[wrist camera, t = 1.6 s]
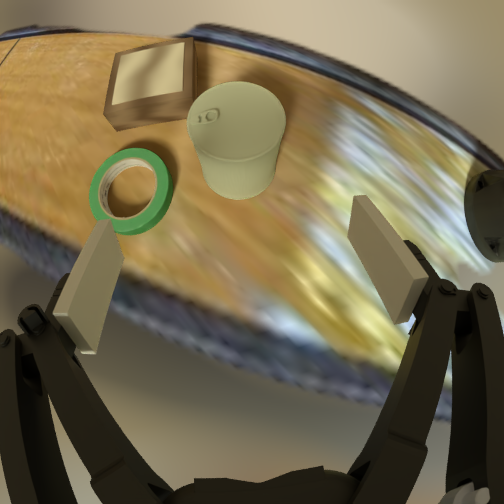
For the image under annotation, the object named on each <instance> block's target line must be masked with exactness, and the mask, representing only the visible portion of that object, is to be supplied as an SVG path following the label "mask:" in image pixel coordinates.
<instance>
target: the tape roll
mask: <svg viewBox="0 0 504 504" xmlns="http://www.w3.org/2000/svg"><path fill="white" fill-rule="evenodd" d="M133 166H143V167H146V168H149V169H150V170H152V171H153V173H154V176H155V190H154V194H153V196H152V199H151V201H150V202H149V203H148V205H147V206H146V207H145V208H144V209H143V210H142V211H141V212H139V213H138V214H136V215H134V216H131V217H127V218H125V217H123V218H120V217H115V216H114V215H113V214H112V213H111V211H110V209H109V206H108V201H107V195H108V190H109V187H110V185H111V183H112V181H113V180H114V178H115V177H116V176H117V175H118V174H119V173H120V172H121V171H123V170H125V169H127V168H129V167H133ZM172 195H173V182H172V177H171V174H170V172H169V170H168V168H167V167H166V165H165V164H164V162H163V161H162V160H161V158H160V157H159V156H158V155H156V154H155V153H153V152H152V151H149V150H147V149H143V148H129V149H125V150H122V151H119V152H117V153H115V154H114V155H112V156H111V157H109V158H108V159H107V160H106V161H105V162H104V163H103V164H102V165H101V166H100V168H99V169H98V170H97V172H96V174H95V175H94V177H93V180H92V183H91V186H90V191H89V202H90V207H91V211H92V213H93V215H94V217H95V218H96V220H97V221H98V220H104V219H111V222H112V225H113V228H114V231H115V232H116V233H118V234H122V235H137V234H141V233H143V232H146V231H148V230H149V229H151V228H152V227H154V226H155V225H156V224H157V223H158V222H159V221H160V220H161V219H162V218H163V217H164V215H165V214H166V212H167V210H168V208H169V206H170V203H171V200H172Z"/></svg>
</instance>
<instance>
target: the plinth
mask: <svg viewBox="0 0 504 504" xmlns="http://www.w3.org/2000/svg"><path fill="white" fill-rule="evenodd" d="M196 99H197V54H196V49H195V44H194V39H193V37H190V38H184V39H177V40H172V41H166V42H161V43H156V44H151V45H147V46H142V47H138V48H134V49H130V50H126V51H122V52H119V53H115V58H114V62H113V66H112V70H111V75H110V80H109V85H108V90H107V95H106V101H105V107H104V113H103V115H104V116H105V117H106V119H107V120H108V121H109V122H110V124H111V125H112V126H113V127H114V129H115V130H116V131H121V130H126V129H131V128H136V127H141V126H146V125H151V124H157V123H163V122H169V121H175V120H182V119H187V117H188V113H189V110H190V108H191V106H192V104H193V103H194V101H195V100H196Z"/></svg>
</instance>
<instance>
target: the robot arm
mask: <svg viewBox="0 0 504 504" xmlns="http://www.w3.org/2000/svg"><path fill="white" fill-rule="evenodd" d="M465 215H466V221H467V225H468V228H469V232H470V234H471V237H472V239H473V241H474V243H475V245H476V247H477V248H478V250H479V251H480V252H481V253H482V255H483V256H485V257H486V258H487V259H488V260H490V261H492V262H504V170H487V171H483V172H481V173H479V174H478V175H476V176H474V177H473V178H472V179H471V180H470V182H469V184H468V186H467V189H466V193H465ZM347 237H348V239H349V241H350V243H351V244H352V246H353V248H354V250H355V251H356V253H357V255H358V257H359V258H360V260H361V262H362V264H363V266H364V267H365V269H366V271H367V273H368V275H369V277H370V278H371V280H372V282H373V284H374V286H375V288H376V290H377V292H378V294H379V295H380V297H381V299H382V301H383V303H384V305H385V307H386V309H387V311H388V313H389V315H390V317H391V319H392V321H393V323H394V325H395V324H400V323H404V322H408V321H409V319H410V317H411V315H412V313H413V314H414V316H415V318H416V320H415V322H414V324H413V326H412V328H411V330H410V332H409V333H408V334H409V335H410V337H409V340H408V343H407V346H406V349H405V352H404V355H403V358H402V361H401V364H400V366H399V369H398V372H397V375H396V377H395V380H394V382H393V385H392V387H391V390H390V392H389V395H388V397H387V399H386V402H385V404H384V406H383V409H382V411H381V413H380V415H379V418H378V420H377V422H376V425H375V426H374V428H373V430H372V433H371V435H370V437H369V438H368V440H367V443H366V444H365V447H364V448H363V450H362V452H361V453H360V455H359V456H358V457H357V459H356V460H355V462H354V463H353V465H352V466H351V468H350V470H349V471H348V473H347V474H345V473H342V472H338V471H333V470H324V468H323V466H318V467H313V468H308V469H302V470H296V471H292V472H289V473H286V474H284V475H281V476H279V477H276V478H273V479H270V480H268V481H265V482H261V483H254V482H247V481H241V480H234V479H228V478H206V479H205V478H194V483H192V484H188V485H186V486H183V487H181V488H179V489H177V490H175V491H174V490H173V489H172V488H171V487H170V486H169V485H168V484H167V483H166V482H165V481H164V480H163V479H162V478H160V477H159V476H158V475H157V474H156V473H155V472H154V471H153V470H152V469H151V468H150V466H149V465H148V464H147V463H146V462H145V460H144V459H143V458H142V456H141V455H140V454H139V453H138V452H137V450H136V449H135V447H134V446H133V445H132V443H131V442H130V441H129V439H128V438H127V437H126V436H125V434H124V433H123V431H122V430H121V428H120V427H119V425H118V424H117V423H116V421H115V420H114V418H113V417H112V415H111V414H110V412H109V411H108V409H107V407H106V406H105V404H104V403H103V401H102V400H101V398H100V397H99V395H98V393H97V391H96V390H95V388H94V387H93V385H92V383H91V382H90V380H89V378H88V376H87V374H86V373H85V371H84V369H83V367H82V365H81V363H80V362H79V360H78V358H77V356H76V355H75V354H74V351H75V348H76V347H77V348H78V349H79V351H80V352H81V353H82V354H96V351H97V347H98V343H99V339H100V336H101V331H102V328H103V325H104V321H105V317H106V314H107V310H108V307H109V304H110V300H111V297H112V294H113V291H114V288H115V285H116V281H117V278H118V275H119V272H120V269H121V267H122V264H123V261H124V256H123V254H122V251H121V248H120V245H119V243H118V240H117V237H116V234H115V231H114V228H113V225H112V222H111V219H104V220H98V222H97V224H96V225H95V227H94V229H93V231H92V232H91V234H90V236H89V238H88V240H87V242H86V243H85V245H84V247H83V249H82V251H81V253H80V255H79V257H78V259H77V261H76V263H75V265H74V267H73V269H72V271H71V273H66V274H65V275H64V276H63V277H62V278H61V279H60V281H59V282H58V285H57V287H56V290H55V291H54V293H53V297H51V300H50V302H49V304H48V306H47V309H46V311H45V313H44V312H43V310H42V309H41V307H40V306H39V305H37V304H32V305H29V306H27V307H26V308H25V309H23V310H22V312H21V313H20V314H19V317H18V325H19V326H20V327H21V329H22V330H23V331H24V334H21V335H18V336H17V335H16V334H15V332H14V331H13V330H11V329H7V330H4V331H3V332H1V333H0V454H1V461H2V466H3V471H4V476H5V480H6V484H7V488H8V492H9V496H10V500H11V503H12V504H78V503H77V500H76V498H75V495H74V492H73V490H72V487H71V484H70V481H69V478H68V475H67V472H66V469H65V466H64V462H63V459H62V455H61V452H60V448H59V445H58V441H57V437H56V432H55V428H54V424H53V419H52V414H51V409H50V404H49V398H48V395H49V397H50V399H51V402H52V404H53V406H54V408H55V411H56V413H57V415H58V417H59V419H60V421H61V423H62V425H63V427H64V429H65V431H66V433H67V435H68V437H69V439H70V441H71V442H72V444H73V446H74V448H75V450H76V451H77V453H78V455H79V457H80V458H81V460H82V462H83V464H84V465H85V467H86V468H87V470H88V472H89V473H90V475H91V478H92V479H91V481H90V484H91V487H92V489H93V490H94V492H95V493H96V495H97V496H98V498H99V499H100V501H101V502H102V503H103V504H406V502H407V500H408V497H409V496H410V493H411V491H412V489H413V487H414V485H415V483H416V480H417V478H418V476H419V474H420V471H421V469H422V466H423V464H424V461H425V459H426V456H427V451H428V448H427V446H426V445H425V443H426V439H427V436H428V433H429V430H430V427H431V424H432V421H433V418H434V415H435V412H436V408H437V405H438V401H439V398H440V394H441V391H442V387H443V383H444V379H445V375H446V370H447V366H448V361H449V356H450V351H451V357H452V419H451V435H450V445H449V455H448V463H447V472H446V494H445V495H444V496H443V498H442V499H441V501H440V502H439V503H438V504H504V334H503V330H502V325H501V321H500V317H499V312H498V308H497V305H496V301H495V297H494V294H493V292H492V291H491V289H490V288H489V287H487V286H486V285H485V284H482V283H475V284H473V286H472V288H471V289H470V291H466V290H458V289H457V287H456V286H455V285H454V284H453V283H452V282H450V281H449V280H446V279H440V277H439V276H438V274H437V273H436V272H435V270H434V269H433V267H432V266H431V265H430V263H429V262H428V261H427V260H426V258H425V257H424V255H423V254H422V253H421V251H420V250H419V249H418V247H417V246H416V245H414V244H413V243H412V242H410V241H409V240H402V239H401V238H400V236H399V235H398V234H397V232H396V231H395V230H394V229H393V227H392V226H391V225H390V223H389V222H388V221H387V220H386V218H385V217H384V216H383V215H382V214H381V212H380V211H379V210H378V209H377V207H376V206H375V205H374V204H373V203H372V201H371V200H370V199H369V198H368V197H367V196H366V195H359V196H354V198H353V205H352V211H351V218H350V224H349V230H348V236H347Z"/></svg>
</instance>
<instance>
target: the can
mask: <svg viewBox="0 0 504 504" xmlns="http://www.w3.org/2000/svg"><path fill="white" fill-rule="evenodd" d="M285 126H286V115H285V111H284V108H283V106H282V104H281V102H280V101H279V100H278V98H277V97H276V96H275V95H274V94H273V93H271V92H270V91H269V90H267V89H266V88H264V87H262V86H260V85H257V84H254V83H250V82H243V81H233V82H226V83H222V84H219V85H216V86H213V87H211V88H210V89H208V90H206V91H205V92H203V93H202V94H201V95H200V96H199V97H198V98H197V99H196V100H195V101H194V103H193V104H192V106H191V108H190V110H189V113H188V117H187V130H188V134H189V136H190V139H191V141H192V142H193V144H194V147H195V150H196V152H197V155H198V158H199V160H200V163H201V166H202V171H203V176H204V178H205V181H206V182H207V184H208V185H209V187H210V188H211V189H212V190H213V191H214V192H216V193H217V194H219V195H221V196H223V197H225V198H229V199H235V200H242V199H248V198H251V197H254V196H256V195H258V194H260V193H261V192H263V191H264V190H265V189H266V188H267V187H268V186H269V184H270V183H271V181H272V179H273V177H274V174H275V169H276V159H277V155H278V151H279V147H280V143H281V139H282V136H283V134H284V131H285Z"/></svg>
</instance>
